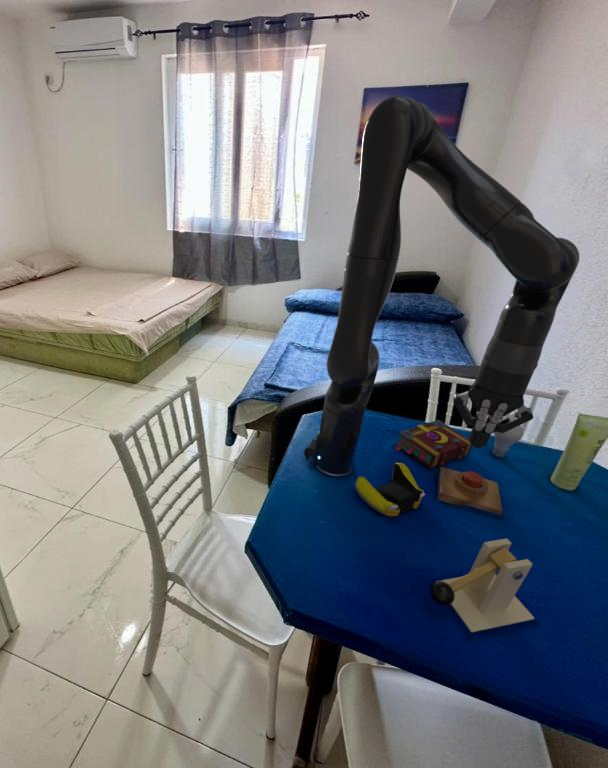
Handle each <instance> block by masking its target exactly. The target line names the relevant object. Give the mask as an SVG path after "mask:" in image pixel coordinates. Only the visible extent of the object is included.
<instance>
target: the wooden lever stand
mask: <svg viewBox="0 0 608 768" xmlns="http://www.w3.org/2000/svg"><path fill="white" fill-rule="evenodd" d="M511 546H512V542H511V541H510V540H509V539H508V538H501V539H495V540H488V541H484V542H483V544H482V545H481V547H480V550H479V551H478V554H477V556H476V557H475V560H474V562H473V564H472V566H471V567H470V571H469V573H471V572H472V571H474V570H476V569H478V568H480V567H482V566H484V565H486V564H487V563H489V562H491V558H490V555H491V554H493V553H495V552H497V551H499V550H501V549H503V548H505V547H506V548H507V549H508V550H509V549H510V547H511ZM532 567H533V563H532V562H531V561H530V560H529V559H528V558H526V559H519V560H517V561H514V562H508V563H504V564H503V565H502V567H501V569H500V571H499V570H496V571H494V572H492V573H491V574H489V575H487V576H485V577H483V578H481V579H479V580H477V581H476V582H474V583H472V584H470V585H468V586H466V587H464V588H462V589H460V590H459V591H457V592H455V593H454V594H455V599H454V601H453V603H452V604H451V605H450V606H451V607H452V608H453V609H454V610H455V612H456V614H457V615H458V616H459V617H460V619H461V620H462V622H463V623H464V625H465V627H467V629H468V630H469V632H470V633H477V632H481V631H486V630H491V629H495V628H500V627H504V626H510V625H514V624H518V623H523V622H528V621H533V620H535V617H534V615H532V613H531V612H530V611H529V610H528V608H526V606H525V605H524V604H523V603H522V602H521V600H520V599H518V598H517V596H516V594H517V592H518V591H519V589H520V587H521V585H522V584H523V582H524V581H525V579H526V577H527V576H528V573H529V572H530V570H531V568H532ZM497 572H498V573H497ZM461 577H462V576H457V577H452V578H446V579H441V580H440V581H442V582H445V583H447V584H450V583H452V582H454V581H456V580H457V579H459V578H461ZM437 581H438V580H436V581H435V582H437Z"/></svg>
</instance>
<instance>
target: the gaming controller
mask: <svg viewBox="0 0 608 768" xmlns="http://www.w3.org/2000/svg"><path fill="white" fill-rule="evenodd" d="M391 475H392V476H391V481H390V482H388V483H385V484H383V485H380V486H377V487H374V486H373V485H372V484H371V483H370V481H369V480H367V478H366V477H363V476H358V477H357V479H356V481H355V484H354V488H355V490H356V492H357V494H358V496H359V497H360V498H361V499H362V500H363V501H364V502H365V503H366V504H367V505H368V506H369V507H370V508H372V509H374V510H375V511H377V512H378V513H380V514H382V515H383V516H385V517H397V516H399V515H402V514H404V513H406V512H409V511H410V510H413V509H418V507H419V506H420V504H421V502H422V501H423V500H422V499H423V497H424V496H426V493H425V492H424V490H423V489H421V488H420V487H419V486H418V483H417V482H416V480H415V478H414V476H413V474H412V473H411V471H410V468H409V467H408V466H407V465H406V464H404V463H403V462H395V463H394V464H393V466H392V474H391Z"/></svg>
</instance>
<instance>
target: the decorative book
mask: <svg viewBox="0 0 608 768" xmlns="http://www.w3.org/2000/svg"><path fill="white" fill-rule="evenodd" d="M398 436H400V438H399V441H396V442H395V443H394V444H395V448H394V450H396V451H398V452H399V451H401V450H402V451H404V452H405V453H407V454H408V455H410V456H412V457H413V458H414V459H416V460H417V461H419V462H420V463H421V464H423V465H424V466H426V467H427V468H429V469H433V468H435V467H438V468H441V467H444V466H445V464H446V463H448V462H452V461H454V460H456V461H458V460H461V459H463V457H465V456H467V455H469V454H470V452H471V450H472V449H473V447H472V443H470V439H469V438H468V437H467V436H464V435H463V434H461V433H459V432H458V431H456V430H455V429H453V428H451V426H449V425H447V424H446V423H445V422H443V421H442V420H439V419H436V420H433V421H430V422H428V423H427V424H417V425H416V427H414V428H407V429H405V430H400V431H399V432H398Z"/></svg>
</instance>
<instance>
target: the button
mask: <svg viewBox="0 0 608 768" xmlns="http://www.w3.org/2000/svg"><path fill="white" fill-rule="evenodd" d="M465 472H466V473H465V475H464V478H463V482H464V483H465V484H467V485H468V486H471V487H474V488H479V487H480V486H481V484H482V482H483V479H484V478H483V476H482V475H480V474H479V473H478V472H475V471H465Z"/></svg>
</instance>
